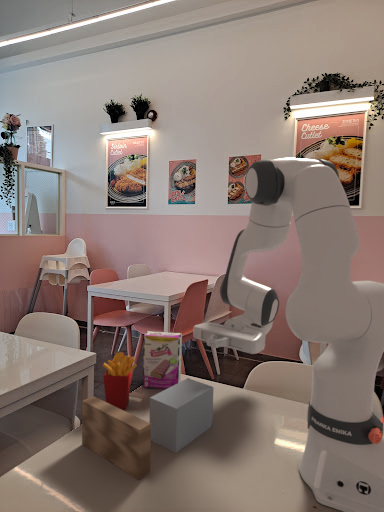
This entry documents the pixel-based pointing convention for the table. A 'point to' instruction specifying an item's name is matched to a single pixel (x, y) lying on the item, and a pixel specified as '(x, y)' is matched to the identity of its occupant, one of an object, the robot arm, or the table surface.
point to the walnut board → (116, 436)
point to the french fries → (118, 380)
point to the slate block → (181, 414)
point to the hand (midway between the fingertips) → (211, 343)
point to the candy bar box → (161, 359)
